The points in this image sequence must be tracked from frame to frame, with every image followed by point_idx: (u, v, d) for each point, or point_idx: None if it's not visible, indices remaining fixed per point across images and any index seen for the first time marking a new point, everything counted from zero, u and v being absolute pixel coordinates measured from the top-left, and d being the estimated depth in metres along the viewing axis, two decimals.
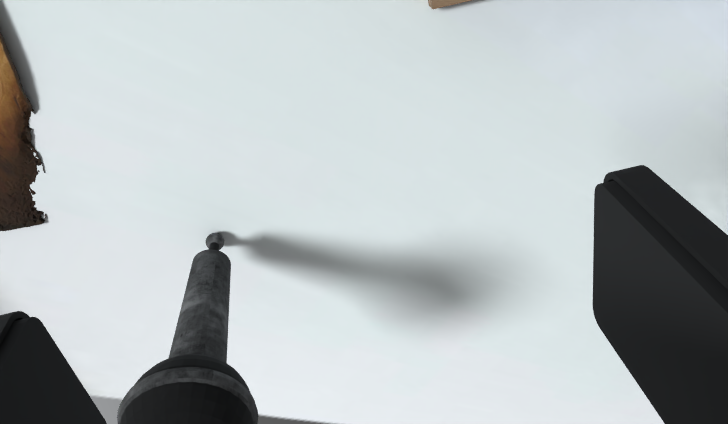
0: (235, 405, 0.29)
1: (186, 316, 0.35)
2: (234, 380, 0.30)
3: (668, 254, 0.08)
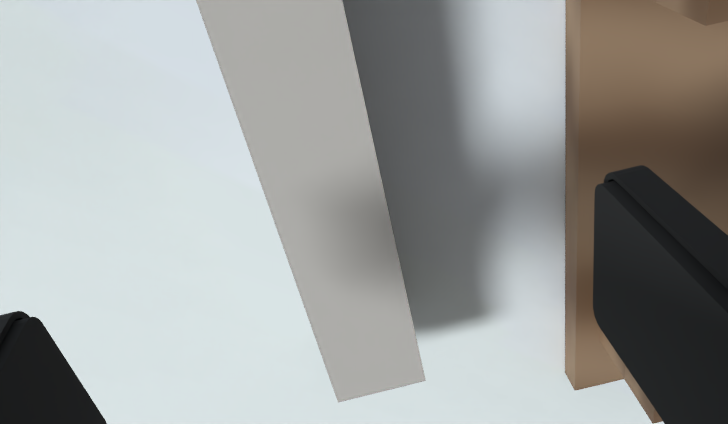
0: None
1: None
2: None
3: (668, 254, 0.08)
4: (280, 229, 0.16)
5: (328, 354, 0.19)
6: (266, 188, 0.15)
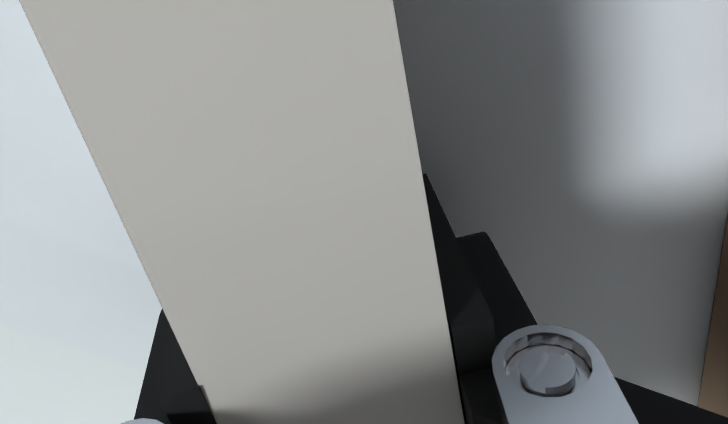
0: None
1: None
2: None
3: None
4: None
5: None
6: None
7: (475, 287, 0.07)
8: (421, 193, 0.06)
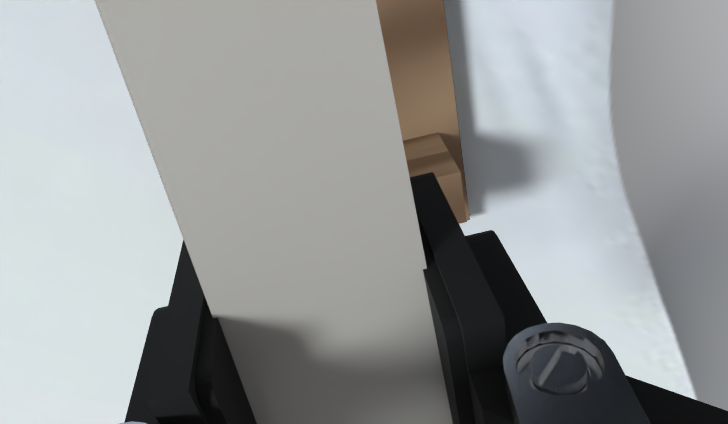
0: None
1: None
2: None
3: None
4: None
5: None
6: None
7: (485, 285, 0.07)
8: (399, 143, 0.07)
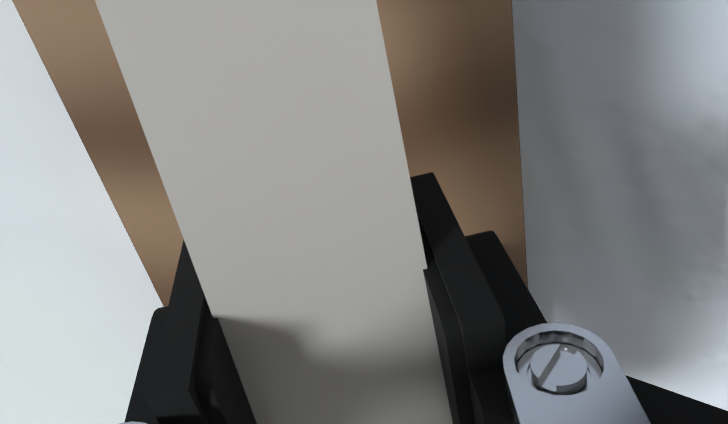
0: None
1: None
2: None
3: None
4: None
5: None
6: None
7: (485, 285, 0.07)
8: (400, 144, 0.07)
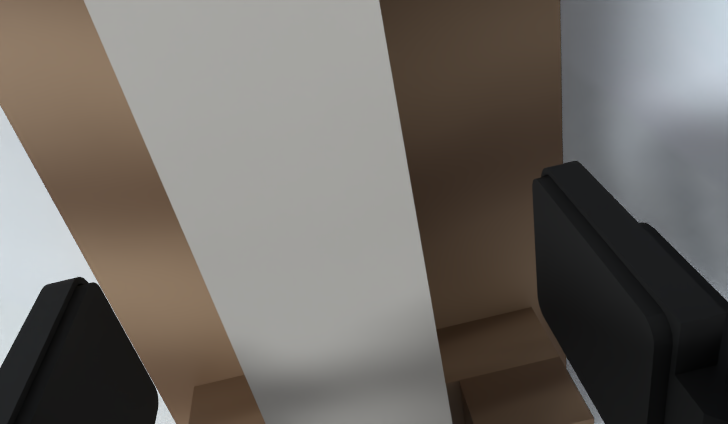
0: None
1: None
2: None
3: (587, 244, 0.08)
4: None
5: None
6: None
7: (690, 279, 0.07)
8: (404, 163, 0.08)
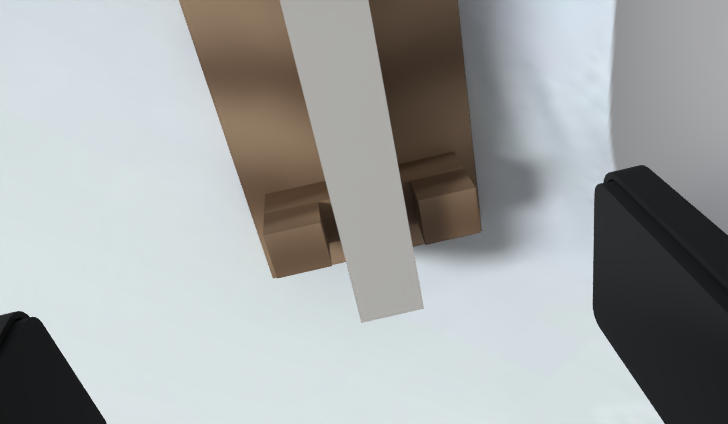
0: None
1: None
2: None
3: (668, 254, 0.08)
4: (330, 189, 0.24)
5: (356, 283, 0.27)
6: (323, 161, 0.24)
7: None
8: (371, 23, 0.21)
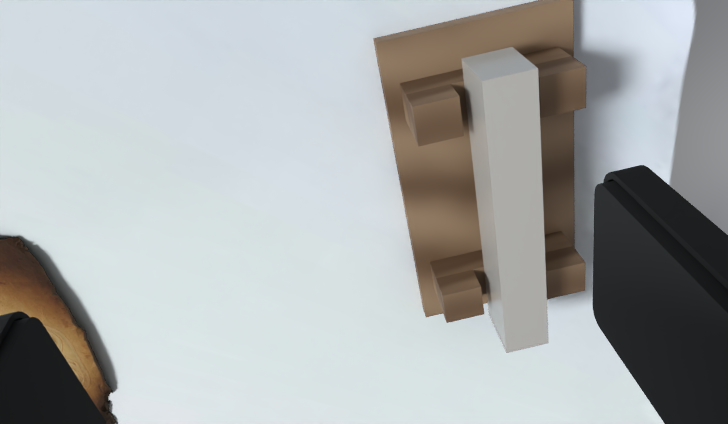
0: None
1: None
2: None
3: (668, 254, 0.08)
4: (500, 271, 0.38)
5: (507, 328, 0.40)
6: (499, 255, 0.37)
7: None
8: (541, 177, 0.35)
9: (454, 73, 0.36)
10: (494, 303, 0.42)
